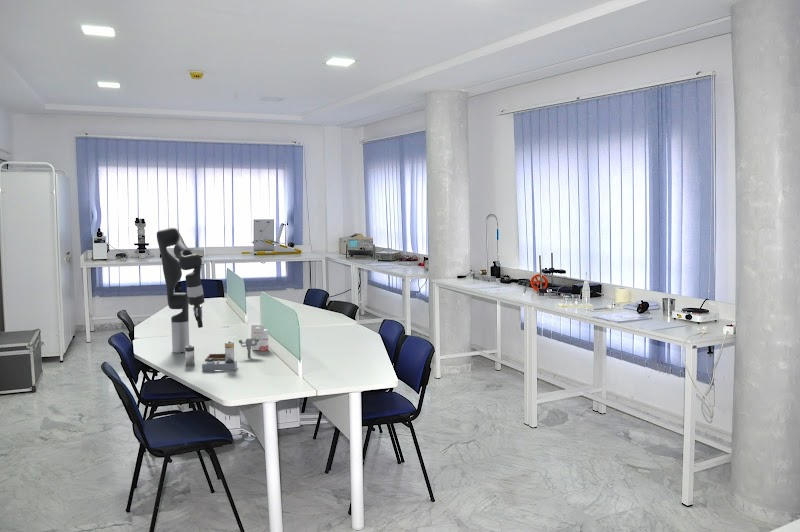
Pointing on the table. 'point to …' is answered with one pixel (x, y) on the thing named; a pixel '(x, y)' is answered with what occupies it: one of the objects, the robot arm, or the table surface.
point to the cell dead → (189, 355)
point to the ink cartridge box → (260, 337)
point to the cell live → (229, 352)
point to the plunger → (210, 361)
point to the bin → (216, 357)
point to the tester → (219, 366)
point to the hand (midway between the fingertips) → (200, 327)
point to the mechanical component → (249, 344)
